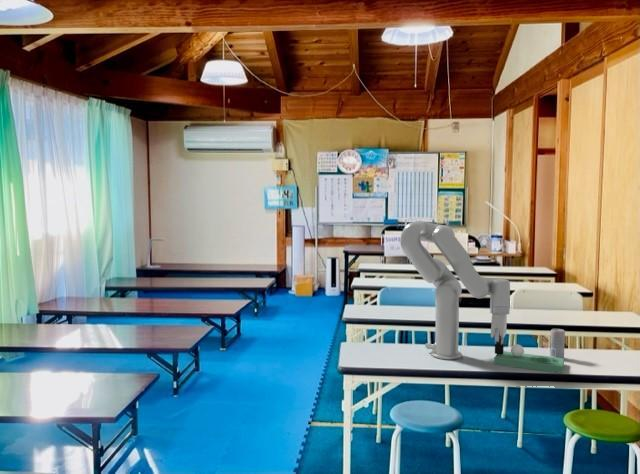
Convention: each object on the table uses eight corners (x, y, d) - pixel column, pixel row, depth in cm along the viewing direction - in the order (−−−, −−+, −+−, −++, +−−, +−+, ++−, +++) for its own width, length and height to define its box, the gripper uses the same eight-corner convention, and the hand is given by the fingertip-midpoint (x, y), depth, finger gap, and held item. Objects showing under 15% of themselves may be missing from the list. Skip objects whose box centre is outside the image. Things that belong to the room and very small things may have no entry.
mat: (494, 364, 220) (494, 357, 220) (498, 356, 231) (499, 350, 231) (561, 373, 209) (562, 366, 209) (563, 364, 220) (563, 358, 220)
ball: (509, 357, 221) (510, 345, 220) (511, 354, 225) (511, 342, 225) (523, 359, 219) (523, 346, 218) (524, 355, 223) (524, 343, 223)
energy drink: (560, 356, 231) (561, 328, 230) (566, 360, 226) (567, 331, 225) (547, 356, 231) (548, 328, 230) (553, 360, 225) (554, 331, 225)
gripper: (493, 305, 231) (492, 348, 232) (486, 312, 218) (486, 357, 219) (512, 306, 228) (511, 350, 229) (506, 313, 214) (505, 359, 216)
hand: (499, 353), depth 224 cm, fingers closed
